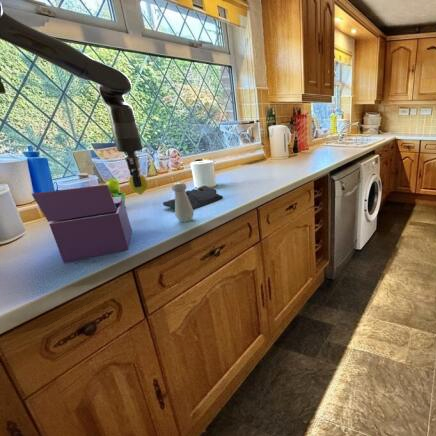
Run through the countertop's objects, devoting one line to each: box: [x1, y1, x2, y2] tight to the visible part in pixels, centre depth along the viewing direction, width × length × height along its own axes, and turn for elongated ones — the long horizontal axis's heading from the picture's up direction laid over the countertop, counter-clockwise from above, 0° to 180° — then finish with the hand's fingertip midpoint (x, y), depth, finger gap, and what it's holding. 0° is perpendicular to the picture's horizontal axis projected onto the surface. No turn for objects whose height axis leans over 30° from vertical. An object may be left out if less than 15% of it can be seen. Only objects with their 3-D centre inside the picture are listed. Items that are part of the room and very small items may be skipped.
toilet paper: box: [190, 160, 218, 189], centre depth 150 cm, size 10×10×12 cm
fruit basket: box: [104, 177, 126, 205], centre depth 120 cm, size 11×9×11 cm
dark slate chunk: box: [162, 186, 224, 210], centre depth 123 cm, size 15×22×5 cm
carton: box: [48, 196, 132, 264], centre depth 84 cm, size 17×14×11 cm
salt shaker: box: [171, 182, 195, 223], centre depth 101 cm, size 6×6×13 cm
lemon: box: [128, 173, 148, 195], centre depth 108 cm, size 6×6×8 cm
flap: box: [31, 184, 117, 223], centre depth 72 cm, size 8×14×1 cm
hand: (138, 184), depth 108 cm, fingers closed on lemon, 5 cm apart
